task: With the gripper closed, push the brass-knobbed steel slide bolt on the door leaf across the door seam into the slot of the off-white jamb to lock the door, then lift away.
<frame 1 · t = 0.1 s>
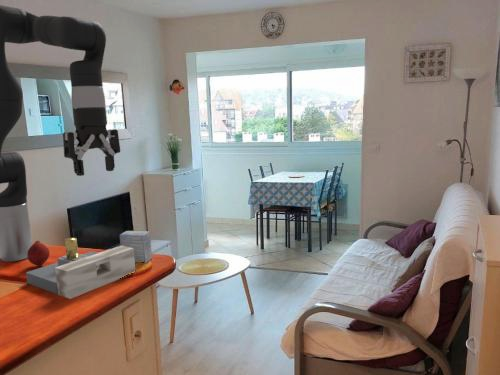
hand: (95, 173, 104), 29 cm above the worktop, fingers open, 8 cm apart
onion: (39, 266, 125), on the worktop
door leaf: (83, 277, 114), on the worktop
jamb: (97, 270, 110), on the worktop
bolt: (77, 252, 114), point 7 cm above the worktop, slide at 0.0 cm
medicine box: (137, 261, 127), on the worktop
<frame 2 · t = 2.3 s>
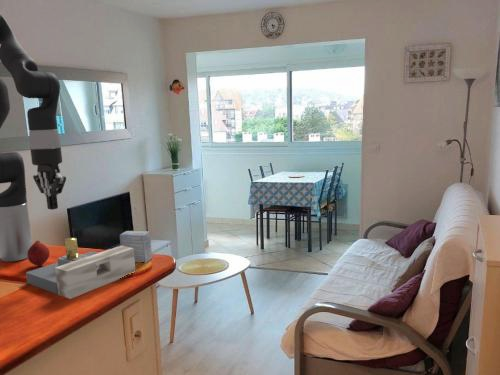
hand: (53, 208, 117), 18 cm above the worktop, fingers closed
nothing on the worktop moved.
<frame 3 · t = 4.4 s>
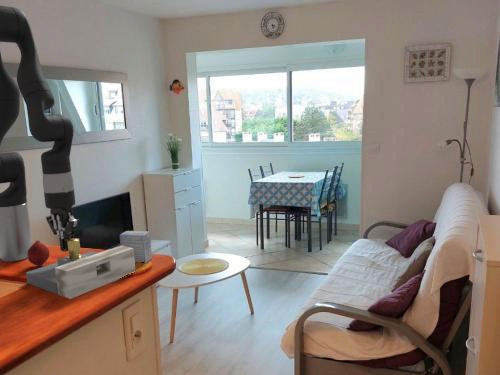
hand: (65, 250, 117), 7 cm above the worktop, fingers closed
bolt: (80, 253, 113), point 7 cm above the worktop, slide at 1.2 cm, touching gripper
everything else where it was.
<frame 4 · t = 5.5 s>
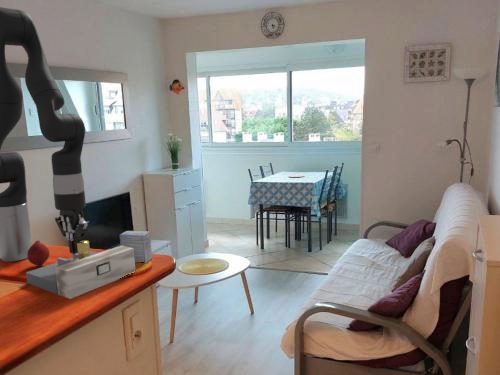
hand: (75, 252, 115), 7 cm above the worktop, fingers closed
bolt: (89, 256, 111), point 7 cm above the worktop, slide at 5.6 cm, touching gripper
everything else where it was.
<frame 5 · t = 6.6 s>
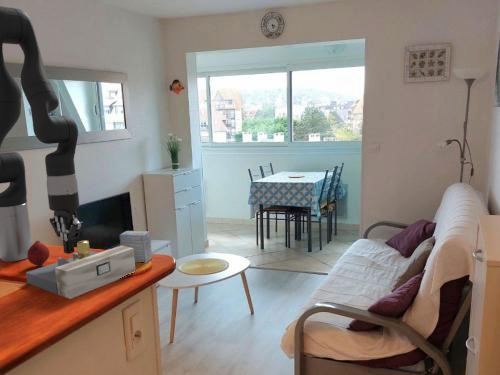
hand: (69, 252, 116), 6 cm above the worktop, fingers closed
bolt: (89, 256, 111), point 7 cm above the worktop, slide at 5.5 cm
everything else where it was.
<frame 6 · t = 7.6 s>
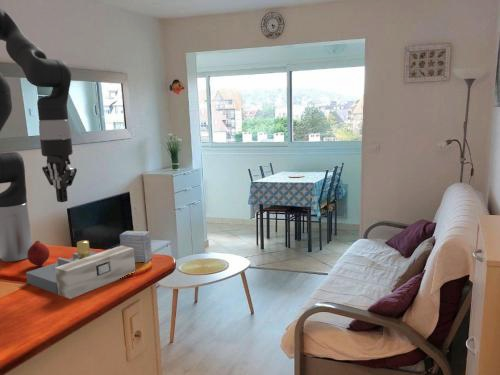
hand: (62, 201, 114), 21 cm above the worktop, fingers closed
nothing on the worktop moved.
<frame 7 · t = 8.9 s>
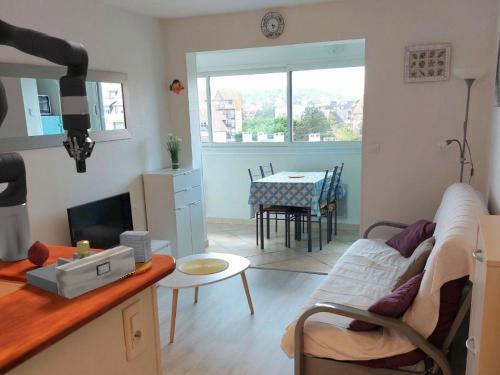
hand: (81, 172, 124), 27 cm above the worktop, fingers closed
nothing on the worktop moved.
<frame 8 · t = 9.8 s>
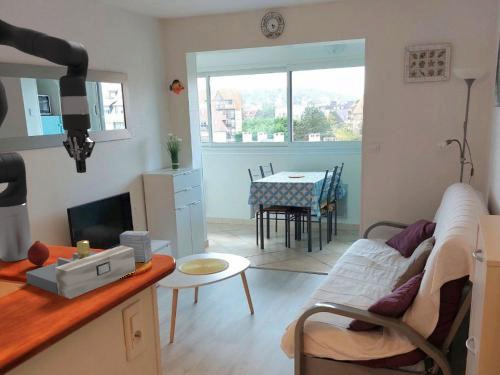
hand: (81, 172, 124), 27 cm above the worktop, fingers closed
nothing on the worktop moved.
at the end: bolt slide at 5.5 cm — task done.
